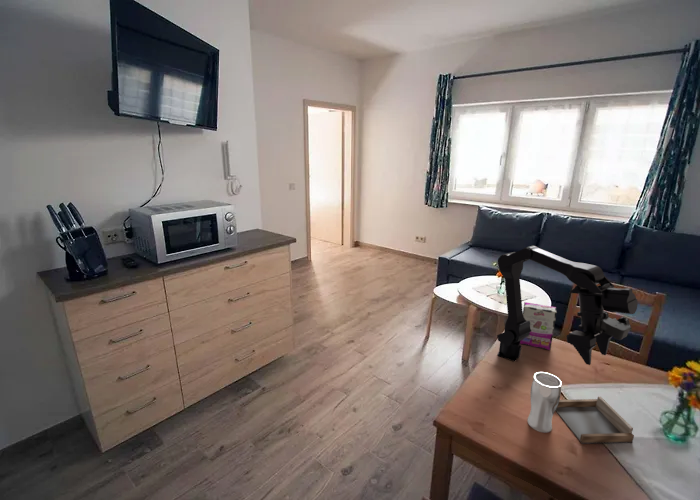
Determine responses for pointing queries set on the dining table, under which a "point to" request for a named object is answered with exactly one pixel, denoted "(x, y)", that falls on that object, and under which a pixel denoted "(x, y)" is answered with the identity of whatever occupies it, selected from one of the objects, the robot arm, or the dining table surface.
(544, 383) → the silver metal cup
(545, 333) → the candy bar box
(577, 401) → the wooden tray
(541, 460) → the dining table surface
